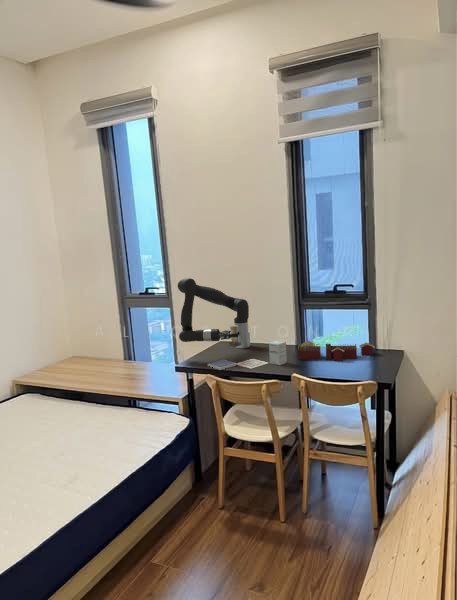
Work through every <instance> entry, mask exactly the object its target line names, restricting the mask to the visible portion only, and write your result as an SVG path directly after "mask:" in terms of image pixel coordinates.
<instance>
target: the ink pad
mask: <svg viewBox="0 0 457 600" xmlns="http://www.w3.org/2000/svg"><path fill="white" fill-rule="evenodd" d="M236 364H237V363H236V362H233V361H229V360H227V359H220V360H217V361H213V362H210V363H207V367H209V366H210V367H209V368H212V367H213V368H212V369H214V370H218V371H221V370H225V368H226V369H229V368H231V367H235V366H237V365H236Z"/></svg>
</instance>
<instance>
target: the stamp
mask: <svg viewBox="0 0 457 600" xmlns="http://www.w3.org/2000/svg"><path fill="white" fill-rule="evenodd" d="M237 328H238V326H237V325H234V324H233V325H232V324H231V325H229V329H230V331H231V334H234V333H237ZM230 339H231V342H229V343H228V344H229V345H228V346H229V347H233V348H236V346H240V345H241V342H238V337H232V338H230Z"/></svg>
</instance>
